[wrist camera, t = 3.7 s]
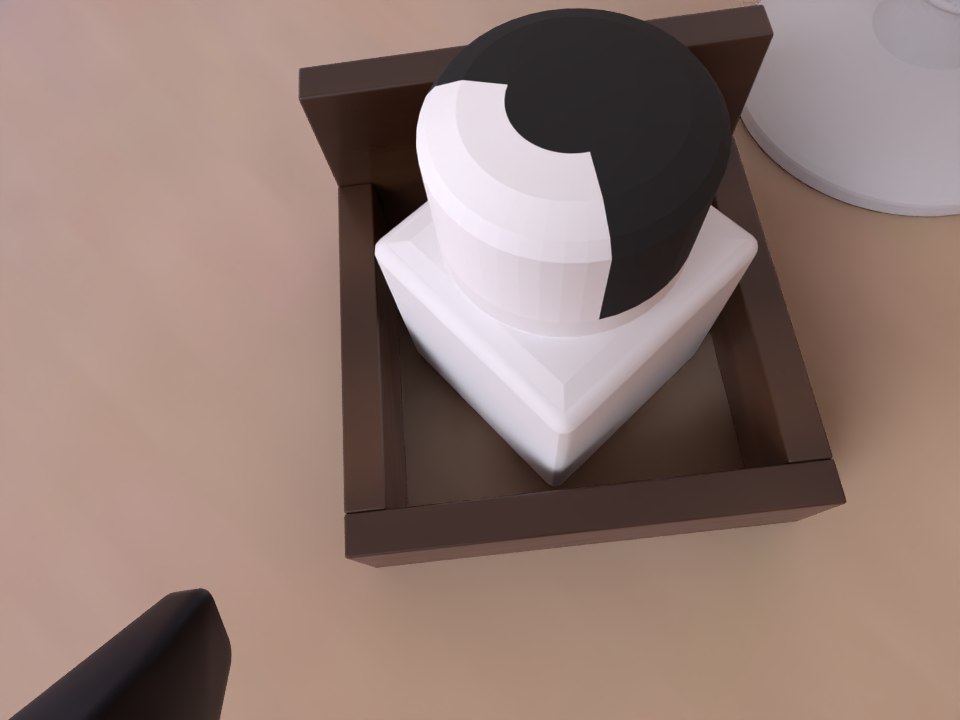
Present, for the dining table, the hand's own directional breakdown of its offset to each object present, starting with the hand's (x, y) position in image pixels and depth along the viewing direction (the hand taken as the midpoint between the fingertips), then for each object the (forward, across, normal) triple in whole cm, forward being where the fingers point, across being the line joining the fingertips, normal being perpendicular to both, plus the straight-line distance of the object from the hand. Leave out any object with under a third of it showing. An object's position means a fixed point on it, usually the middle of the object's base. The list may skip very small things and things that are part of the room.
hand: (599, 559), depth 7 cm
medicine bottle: (+16, -1, +4) cm, 16 cm away
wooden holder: (+15, -1, +4) cm, 16 cm away
